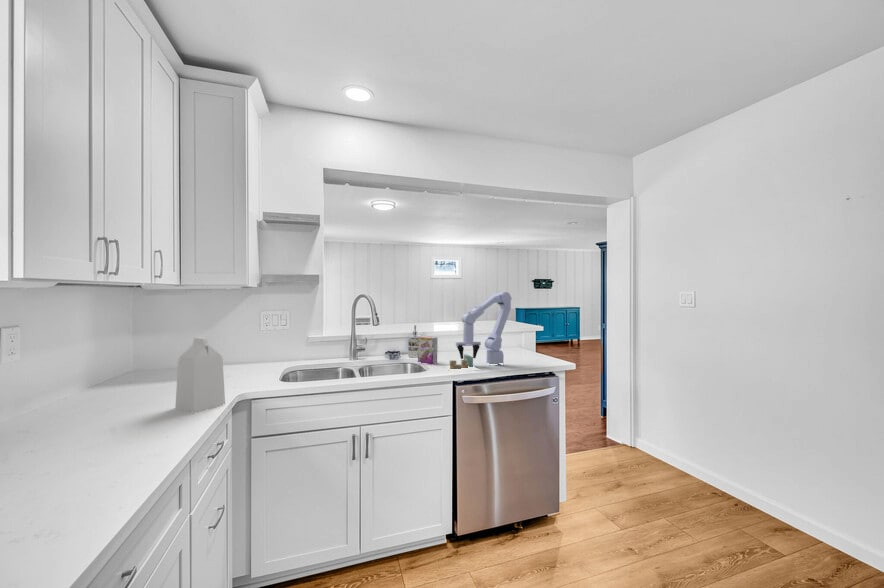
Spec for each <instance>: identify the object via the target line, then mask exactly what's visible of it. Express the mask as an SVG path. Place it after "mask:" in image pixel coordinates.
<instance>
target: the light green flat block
mask: <svg viewBox="0 0 884 588" xmlns="http://www.w3.org/2000/svg"><path fill="white" fill-rule="evenodd" d="M463 360H468V366H469V367H473V365H474V358H473V356H471V355H469V354H468V353H466V354H464V353H463Z"/></svg>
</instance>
